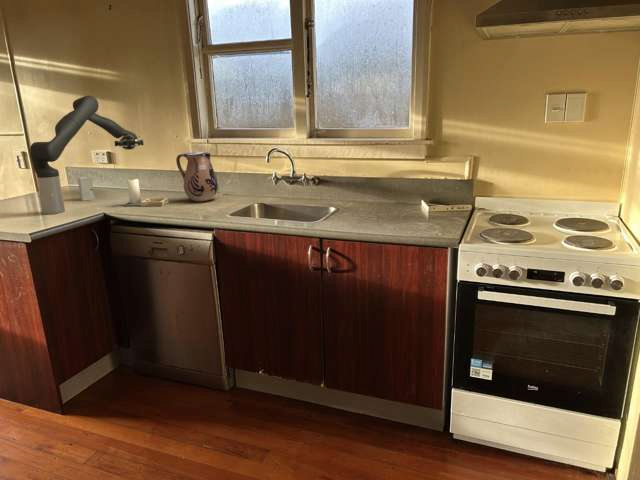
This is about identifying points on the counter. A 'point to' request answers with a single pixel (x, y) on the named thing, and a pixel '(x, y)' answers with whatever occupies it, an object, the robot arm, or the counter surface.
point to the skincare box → (85, 188)
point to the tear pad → (131, 204)
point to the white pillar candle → (134, 191)
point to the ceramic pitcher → (198, 176)
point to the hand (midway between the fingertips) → (129, 143)
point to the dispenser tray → (154, 202)
